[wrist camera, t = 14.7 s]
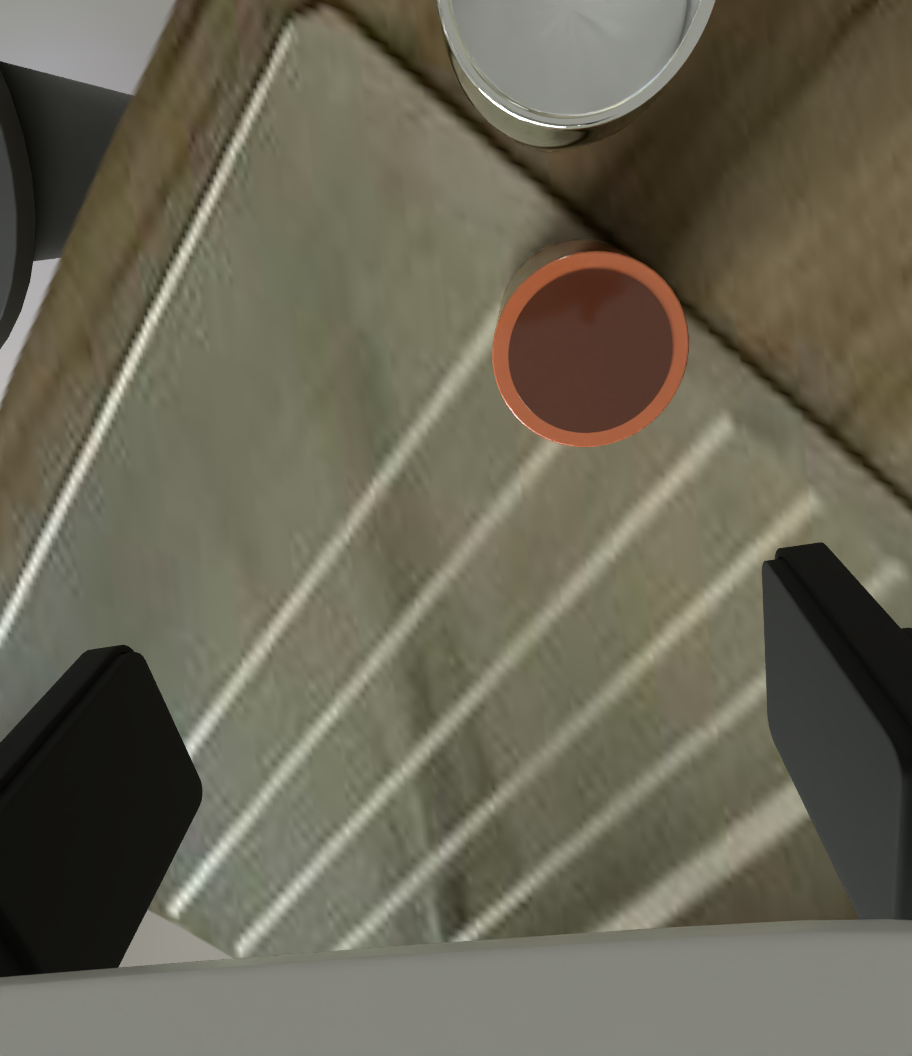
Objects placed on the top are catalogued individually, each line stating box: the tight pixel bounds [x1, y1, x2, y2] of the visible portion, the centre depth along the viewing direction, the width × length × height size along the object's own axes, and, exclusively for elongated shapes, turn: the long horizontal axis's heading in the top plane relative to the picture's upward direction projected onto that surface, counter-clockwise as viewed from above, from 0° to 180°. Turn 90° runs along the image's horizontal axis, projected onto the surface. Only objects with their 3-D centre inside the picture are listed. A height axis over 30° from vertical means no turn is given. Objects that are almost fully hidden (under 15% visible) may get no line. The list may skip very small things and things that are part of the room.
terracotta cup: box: [492, 239, 689, 447], centre depth 30 cm, size 7×7×8 cm
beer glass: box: [436, 0, 716, 152], centre depth 23 cm, size 7×7×15 cm
